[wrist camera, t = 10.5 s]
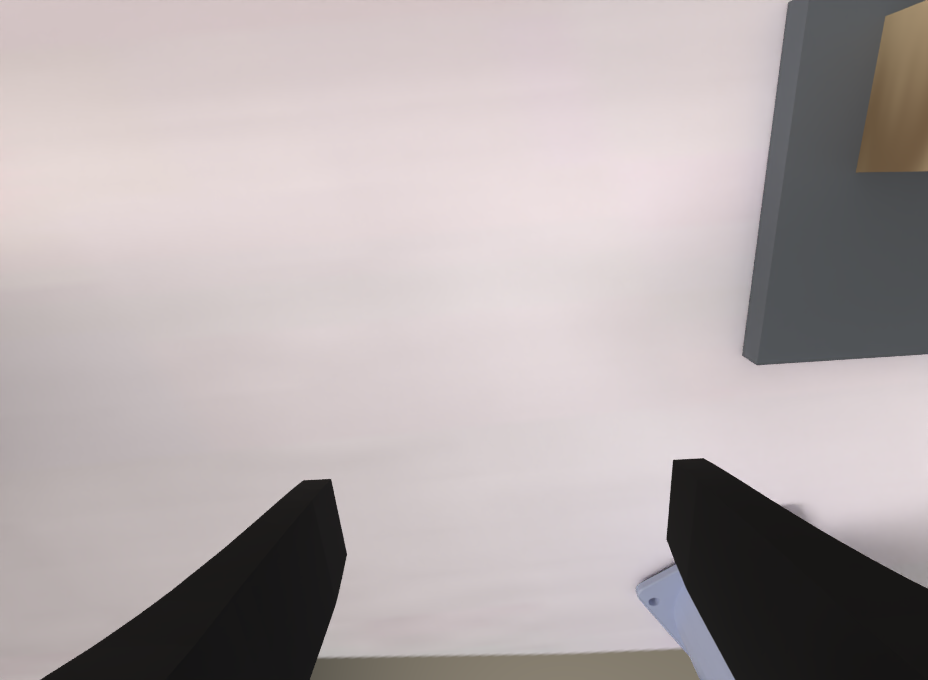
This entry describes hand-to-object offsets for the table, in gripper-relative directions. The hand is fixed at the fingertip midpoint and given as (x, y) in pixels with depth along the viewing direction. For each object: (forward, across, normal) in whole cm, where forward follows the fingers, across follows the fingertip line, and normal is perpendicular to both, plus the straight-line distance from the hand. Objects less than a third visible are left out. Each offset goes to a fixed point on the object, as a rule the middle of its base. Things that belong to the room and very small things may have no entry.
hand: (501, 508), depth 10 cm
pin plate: (+9, -15, -5) cm, 18 cm away
